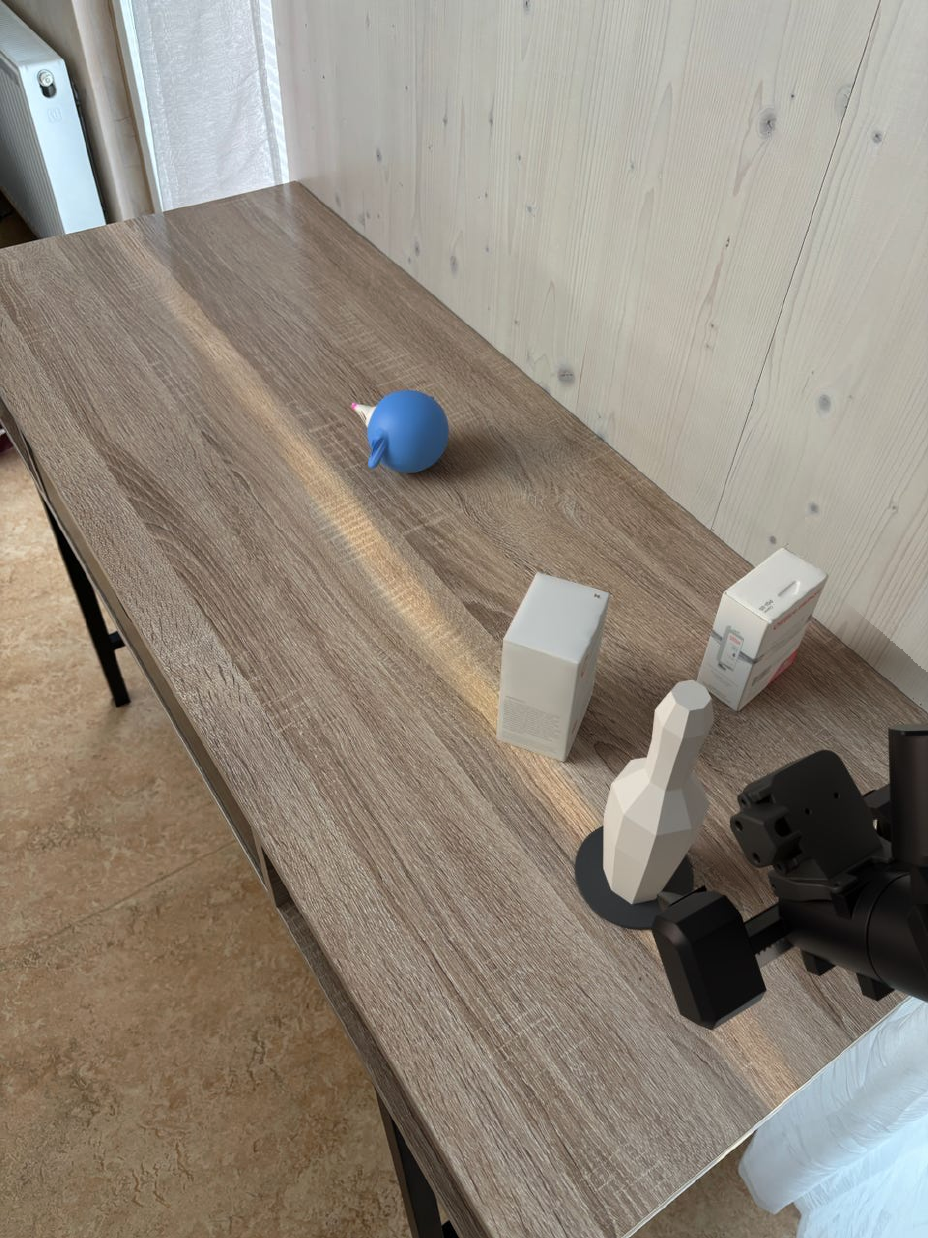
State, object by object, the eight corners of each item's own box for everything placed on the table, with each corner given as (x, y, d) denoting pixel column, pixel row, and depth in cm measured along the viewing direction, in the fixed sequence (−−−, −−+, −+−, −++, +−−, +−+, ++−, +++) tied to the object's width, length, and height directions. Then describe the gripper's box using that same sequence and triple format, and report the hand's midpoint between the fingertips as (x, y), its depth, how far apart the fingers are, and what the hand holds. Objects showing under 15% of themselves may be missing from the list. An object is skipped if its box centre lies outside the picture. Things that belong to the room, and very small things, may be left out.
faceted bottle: (694, 888, 76) (767, 709, 60) (628, 929, 74) (685, 755, 58) (641, 825, 80) (696, 640, 63) (576, 862, 77) (616, 680, 61)
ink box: (751, 634, 94) (784, 541, 86) (795, 664, 92) (833, 572, 83) (692, 682, 90) (721, 589, 81) (737, 715, 88) (771, 623, 79)
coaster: (715, 905, 76) (716, 903, 75) (608, 947, 73) (609, 945, 73) (655, 808, 81) (656, 805, 81) (554, 844, 79) (555, 842, 78)
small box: (525, 672, 90) (536, 568, 81) (593, 694, 89) (612, 591, 79) (493, 741, 85) (501, 638, 76) (565, 765, 84) (582, 664, 74)
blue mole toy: (387, 411, 116) (385, 347, 110) (472, 450, 112) (474, 385, 106) (318, 463, 110) (311, 398, 103) (405, 507, 105) (404, 442, 99)
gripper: (996, 706, 52) (792, 693, 66) (711, 864, 45) (553, 812, 60) (1055, 904, 53) (841, 848, 68) (786, 1086, 46) (613, 981, 61)
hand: (718, 867), depth 64 cm, fingers open, 9 cm apart
